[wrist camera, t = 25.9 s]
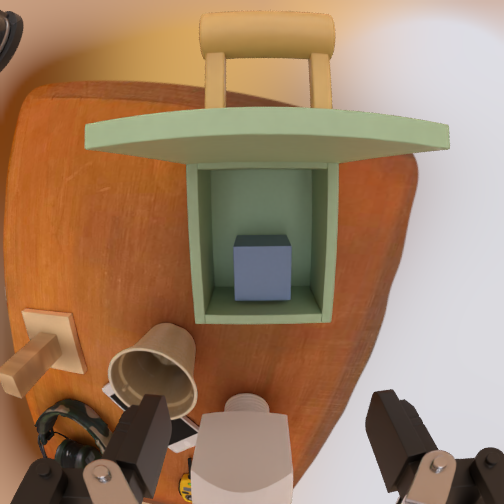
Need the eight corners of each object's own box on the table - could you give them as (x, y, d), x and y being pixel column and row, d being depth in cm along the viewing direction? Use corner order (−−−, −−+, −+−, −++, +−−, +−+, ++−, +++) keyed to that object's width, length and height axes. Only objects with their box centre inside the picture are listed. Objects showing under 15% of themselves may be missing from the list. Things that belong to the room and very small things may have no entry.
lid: (450, 149, 8) (431, 9, 7) (84, 149, 9) (97, 7, 7) (340, 163, 23) (338, 95, 21) (184, 164, 23) (184, 96, 22)
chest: (315, 290, 34) (331, 322, 26) (208, 291, 34) (195, 324, 27) (319, 161, 31) (338, 158, 23) (203, 162, 31) (185, 159, 23)
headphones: (138, 500, 38) (117, 418, 37) (72, 519, 29) (32, 436, 27) (108, 459, 48) (89, 379, 46) (50, 472, 39) (21, 389, 37)
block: (236, 235, 32) (233, 246, 27) (286, 234, 32) (291, 245, 27) (238, 282, 33) (234, 301, 28) (285, 281, 33) (290, 300, 28)
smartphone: (177, 449, 41) (176, 453, 40) (103, 386, 38) (100, 389, 37) (210, 435, 40) (209, 440, 39) (132, 366, 37) (130, 370, 36)
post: (25, 308, 36) (-26, 345, 24) (72, 313, 35) (20, 359, 24) (41, 361, 38) (0, 405, 26) (87, 369, 38) (48, 422, 26)
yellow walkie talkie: (179, 502, 43) (173, 461, 39) (181, 494, 45) (175, 452, 41) (205, 505, 43) (203, 465, 39) (206, 498, 45) (205, 457, 41)
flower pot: (178, 387, 38) (162, 432, 29) (121, 341, 36) (93, 380, 28) (225, 346, 36) (217, 392, 28) (163, 294, 34) (138, 329, 26)
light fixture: (215, 429, 40) (197, 548, 20) (209, 381, 37) (181, 514, 18) (280, 430, 39) (288, 550, 20) (283, 381, 37) (297, 518, 18)
